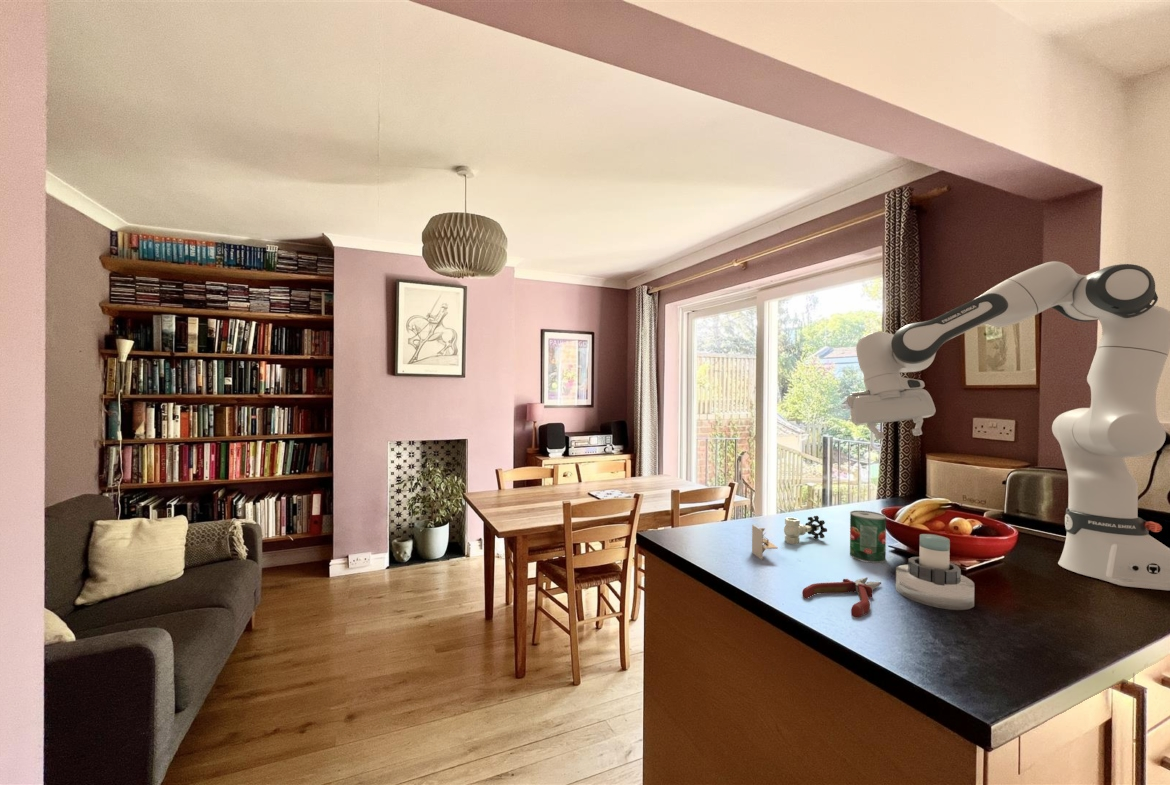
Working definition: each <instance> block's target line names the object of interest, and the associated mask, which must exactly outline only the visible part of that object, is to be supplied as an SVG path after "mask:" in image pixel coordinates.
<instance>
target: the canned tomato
mask: <svg viewBox="0 0 1170 785" xmlns="http://www.w3.org/2000/svg"><path fill="white" fill-rule="evenodd" d="M849 514H850V518H849V520H850V521H849V523H850V524H849V527H850V528H849V529H850V530H849V532H850V533H849V556H850V557H852V558H853V559H855V560H857V561H861V562H866V563H873V564H882V562H883V563H885V562H886V561H887V560H886V554H887V552H886V551H887V549H886V548H887V545H886V544H887V542H886V541H887V540H886V538H887V527H886V526H887V516H886V515H885V514H882V513H880V512H875V511H869V510H851V511H850V512H849Z"/></svg>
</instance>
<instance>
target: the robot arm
mask: <svg viewBox="0 0 1170 785" xmlns="http://www.w3.org/2000/svg"><path fill="white" fill-rule="evenodd" d="M1158 300H1159V297H1158V294H1157V292H1156V282H1155V279H1154V276H1153V274H1152V273H1151V272H1150V271H1149V270H1148V269H1147V268H1145V267H1143V266H1140V265H1138V264H1132V263H1131V264H1130V263H1120V264H1114V265H1109V266H1107V267H1103V268H1101V269H1099V270H1097V271H1094V272H1091V273H1089V274H1087V275H1085V274H1080V273H1078V272H1076V271H1075V269H1074V268H1072V267H1071V266H1070V265H1069V264H1067V263H1065V262H1062V261H1055V260H1054V261H1053V260H1052V261H1048V262H1047V261H1046V262H1045V263H1042V264H1039V265H1035V266H1033V267H1030V268H1028V269H1026V270H1024V271H1021V272H1019V273H1017V274H1015V275H1013V276H1011V277H1009V278H1007V279H1005V280H1003V281H1001V282H1000V283H997V284H996V285H994V286H992V287H991V288H990V289H988V290H987V291H984V292H983V293H982V294H980V295H979V296H977V297H975V298H974V299H972V300H970V301H968V302H966V303H964V304H960V305H959V306H958V307H955V308H954V309H951V310H949V311H947V312H945V313H943V314H941V315H939V316H937V317H935V318H932V319H929V320H925V321H919V322H912V323H909V324H906V325H903V327H901V328H899V329H898V330H897V331H896V332H895V333H889V332H886V331H882V330H878V331H873V332H870V333H868V334H866V335H864V336H863V337H862V338H860V339H858V341H857V344H856V346H855V347H856V348H855V349H856V350H855V352H856V356H857V361H858V365H859V368H860V370H861V371H862V374H863V382H864V387H865V390H862V391H856V392H855V391H854V392H851V393H850V394H849V395H848V396H847V398H846V401H847V404H848V407H849V408H850V409H849V410H850V418H851V422H852V424H854V426H865V425H866V426H867V428H868V429H869V430H870V431H871V433H873V434H874V437H875V440H876V441H878V440H884V439H885V435H884V432H883V431H880V430H878V428H877V427H878V426H877V424H882V423H883V424H884V423H891V422H901V421H908V420H909V421H910V420H913V421H912V422H913V423H914V424H915V427H914V428H912V429H911V432H912V435H913V436H915V437H916V436H920V435H923V431H922V426H923V423H924V419H926V418H927V419H928V418H930V417H932V416H935V414H936V407H935V403H934V401H933V398H932V396H931V395H930V393H929V391H928V390H926V389H924V387H925V386H926V385H925V382H924V381H923V380H920V379H917V378H916V379H914V378H909V377H903V376H902V375H901V373H915V372H921V371H924V370H926V369H927V368H929V367H930V366H931V365H932V363H933V362H934V360H935V357H936V354H937V351H938V350H939V349H940V348H941V347H942V346H943V344H945V343H947V342H948V341H950V340H952V339H954V338H956V337H958V336H960V335H963V334H965V333H967V332H968V331H970V330H973V329H975V328H977V327H980V326H984V325H988V326H991V327H995V328H1006V327H1009V326H1010V327H1011V326H1013V325H1016V324H1020V323H1022V322H1024V321H1026V320H1028V319H1030V318H1032V317H1035V316H1036V315H1039V314H1040V313H1042V312H1044V311H1046V310H1049V309H1050V308H1052V309H1054V310H1055V311H1057V312H1059V313H1060V315H1062V316H1064V317H1065V318H1067V319H1069V320H1071V321H1075V322H1081V323H1082V322H1085V323H1087V322H1094V321H1099V323H1100V325H1101V329H1102V330H1101V339H1100V340H1099V342H1098V345H1097V348H1096V350H1095V354H1094V356H1093V360H1092V362H1091V365H1090V367H1089V368H1090V369H1089V371H1088V374H1087V377H1086V382H1087V383H1088V385H1089V387H1090V388H1089V389H1090V399H1091V400H1090V405H1089V407H1079V408H1074V409H1071V410H1067V411H1065V412H1063V413H1060V414H1059V415H1058V416H1056V418H1055V419H1054V420H1053V422H1052V425H1051V431H1052V434H1053V436H1054V438H1055V439H1056V440H1057V442H1058V443H1059V445H1060V446H1059V447H1060V450H1061V452H1062V457H1063V460H1064V464H1065V467H1066V472H1067V477H1068V478H1067V480H1068V484H1067V485H1068V489H1067V490H1068V491H1067V492H1068V503H1067V507H1066V508H1065V515H1064V526H1065V527H1064V528H1065V531H1066V536H1065V542H1064V545H1063V549H1062V553H1061V555H1060V558H1059V560H1058V562H1057V564H1058V565H1059V566H1060V567H1062V568H1063V569H1066V570H1068V571H1070V572H1074V573H1076V574H1078V575H1083V576H1086V577H1091V578H1094V579H1099V580H1101V581H1105V582H1109V583H1111V584H1114V585H1117V586H1121V587H1130V588H1141V589H1149V590H1150V589H1151V590H1161V591H1170V547H1168V546H1166V545H1165V544H1163V543H1162V542H1160V541H1159V540H1157V539H1156V538H1154V537H1153V536H1151V535H1150V534H1149V531H1151V532H1153V533H1159V532H1161V531H1162V529H1163V527H1162V525H1161V524H1160V523H1158V522H1154V521H1151V520H1150V521H1147V520H1145V519H1143V518H1142V517H1139V516H1138V514H1139V513H1138V510H1139V506H1138V505H1139V504H1138V502H1139V484H1138V482H1137V480H1136V478H1134V476H1133V475H1132V473H1130V470H1129V468H1128V465H1127V464H1126V463H1127V462H1126V460H1125V459H1126V458H1128V459H1129V458H1138V457H1145V456H1148V455H1152V454H1155V453H1156V452H1157V451H1159V450H1160V449H1161V448H1162V447H1163V445H1164V443H1165V441H1166V438H1167V432H1166V429H1165V427H1164V426H1163V424H1162V423H1161V422H1160V420H1159V418H1158V415H1157V392H1158V391H1157V390H1158V385H1159V383H1160V379H1161V376H1162V373H1163V370H1164V367H1165V366H1166V361H1167V360H1168V357H1169V353H1170V310H1168V309H1167V308H1164V307H1162V306H1158V305H1156V304H1157V303H1158Z"/></svg>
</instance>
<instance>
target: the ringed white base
mask: <svg viewBox="0 0 1170 785" xmlns="http://www.w3.org/2000/svg"><path fill="white" fill-rule="evenodd" d="M961 570H962V568H960V566H958V565H957V564H955V563H952V562H949V570H944V569H939V568H934V569H932V568H928V567H925V566H922V565H919V556H912V557H910V558H907V564H902V565H898V566H896V567H895V590H896V592H898V594H900V595H902V596H903V597H905V598H907V599H909V600H912V601H913V602H917V603H919V604H923V605H926V606H929V607H933V608H938V609H945V610H951V611H965V610H970V609H972V608H974V607H975V582H974V581H973V580H972V579H971V578H968V577H967V576H965V575H963V574H962V571H961Z"/></svg>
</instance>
